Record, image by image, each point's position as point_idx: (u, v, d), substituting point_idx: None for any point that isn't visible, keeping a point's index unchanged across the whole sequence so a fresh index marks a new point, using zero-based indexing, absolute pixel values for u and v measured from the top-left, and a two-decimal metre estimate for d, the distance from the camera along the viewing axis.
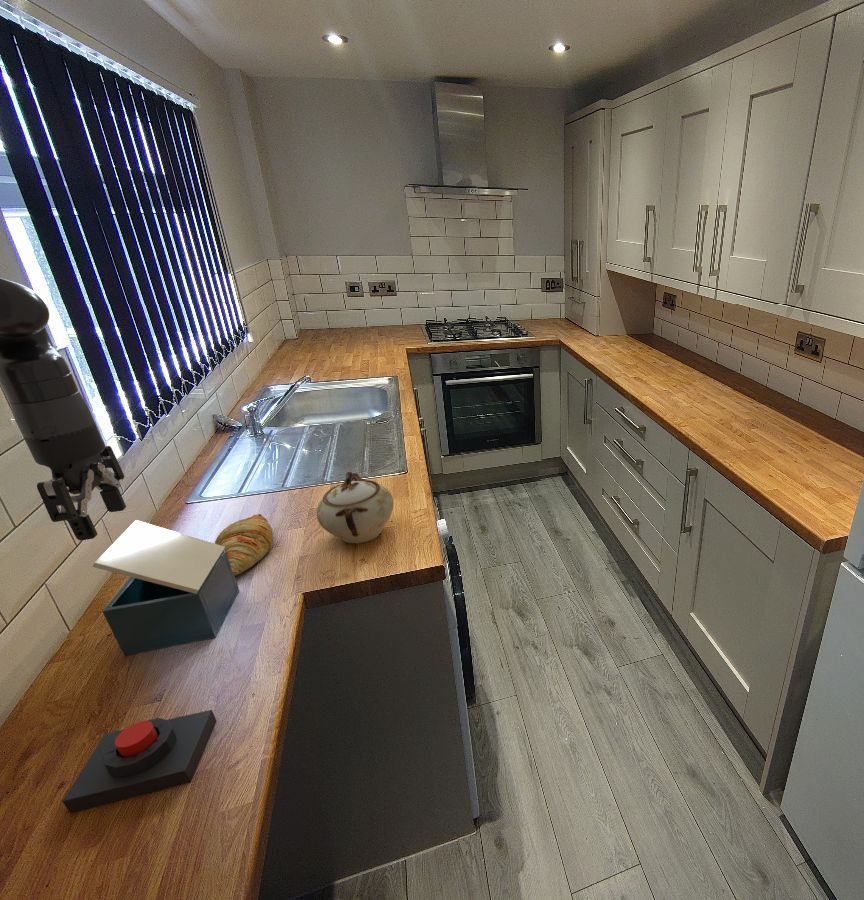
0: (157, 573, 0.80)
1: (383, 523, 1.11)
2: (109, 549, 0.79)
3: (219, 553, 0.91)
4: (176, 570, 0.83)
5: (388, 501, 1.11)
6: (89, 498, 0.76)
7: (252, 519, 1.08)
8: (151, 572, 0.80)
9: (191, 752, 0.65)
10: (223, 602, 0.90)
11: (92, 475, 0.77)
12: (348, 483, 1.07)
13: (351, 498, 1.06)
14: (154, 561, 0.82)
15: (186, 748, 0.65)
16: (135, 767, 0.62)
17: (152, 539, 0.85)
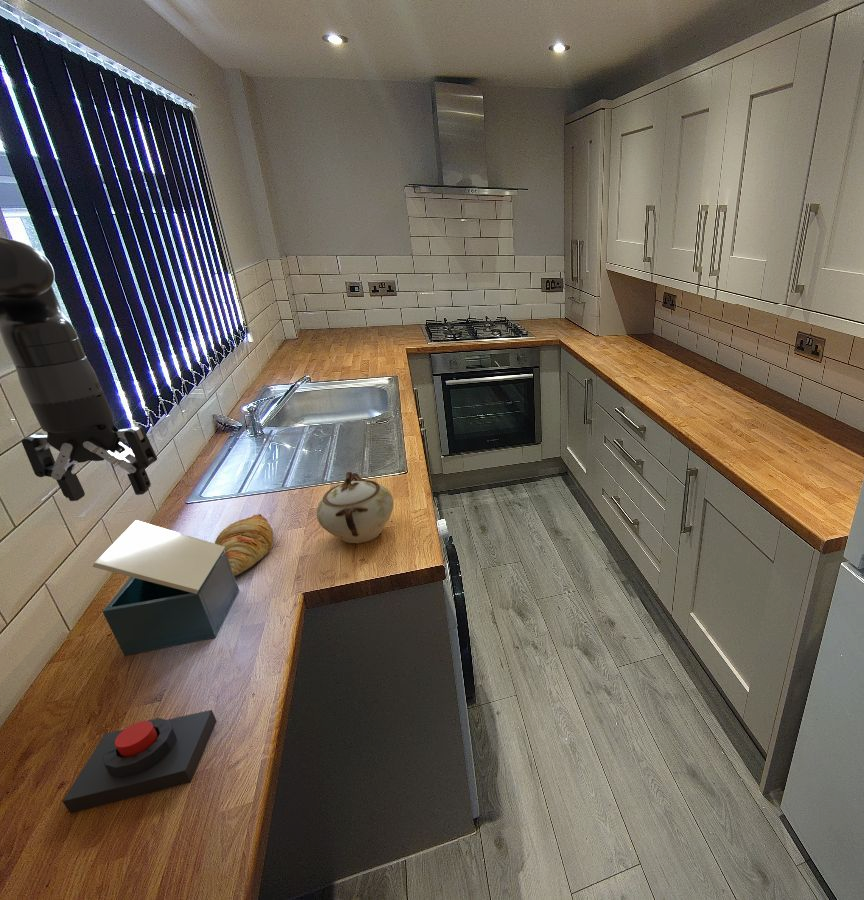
0: (157, 573, 0.80)
1: (383, 523, 1.11)
2: (109, 549, 0.79)
3: (219, 553, 0.91)
4: (176, 570, 0.83)
5: (388, 501, 1.11)
6: None
7: (252, 519, 1.08)
8: (151, 572, 0.80)
9: (191, 752, 0.65)
10: (223, 602, 0.90)
11: None
12: (348, 483, 1.07)
13: (351, 498, 1.06)
14: (154, 561, 0.82)
15: (186, 748, 0.65)
16: (135, 767, 0.62)
17: (152, 539, 0.85)
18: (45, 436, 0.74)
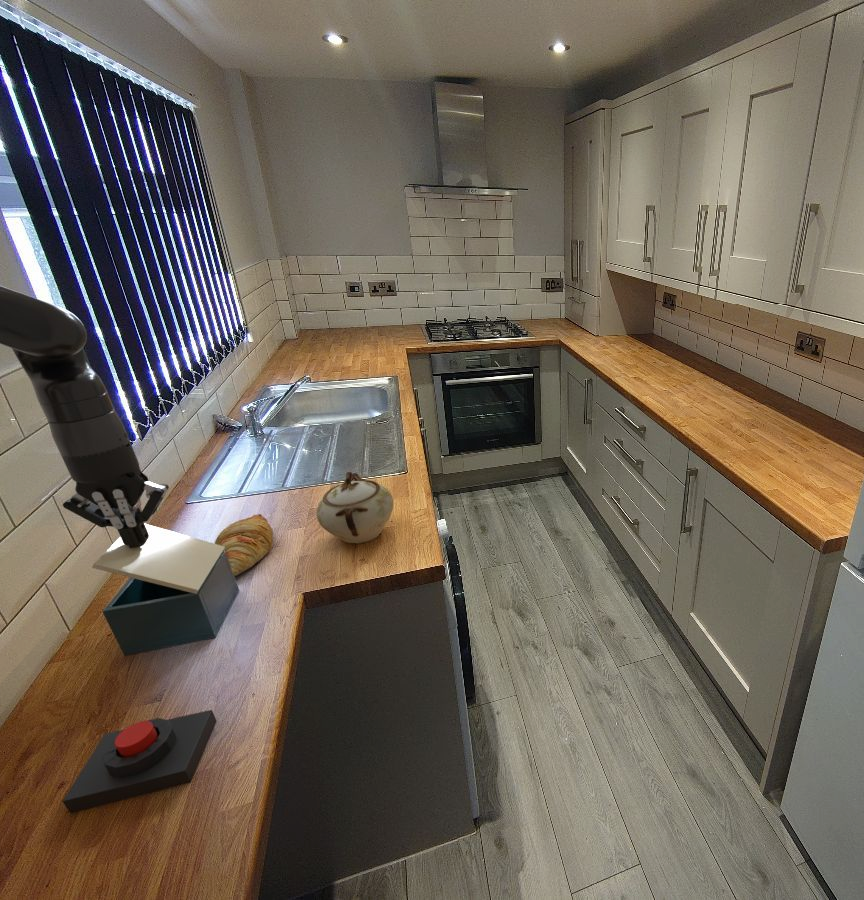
0: (157, 573, 0.80)
1: (383, 523, 1.11)
2: (108, 550, 0.79)
3: (219, 553, 0.91)
4: (176, 570, 0.83)
5: (388, 501, 1.11)
6: None
7: (252, 519, 1.08)
8: (151, 573, 0.80)
9: (191, 752, 0.65)
10: (223, 602, 0.90)
11: None
12: (348, 483, 1.07)
13: (351, 498, 1.06)
14: (154, 562, 0.82)
15: (186, 748, 0.65)
16: (135, 767, 0.62)
17: (152, 540, 0.85)
18: (76, 493, 0.77)
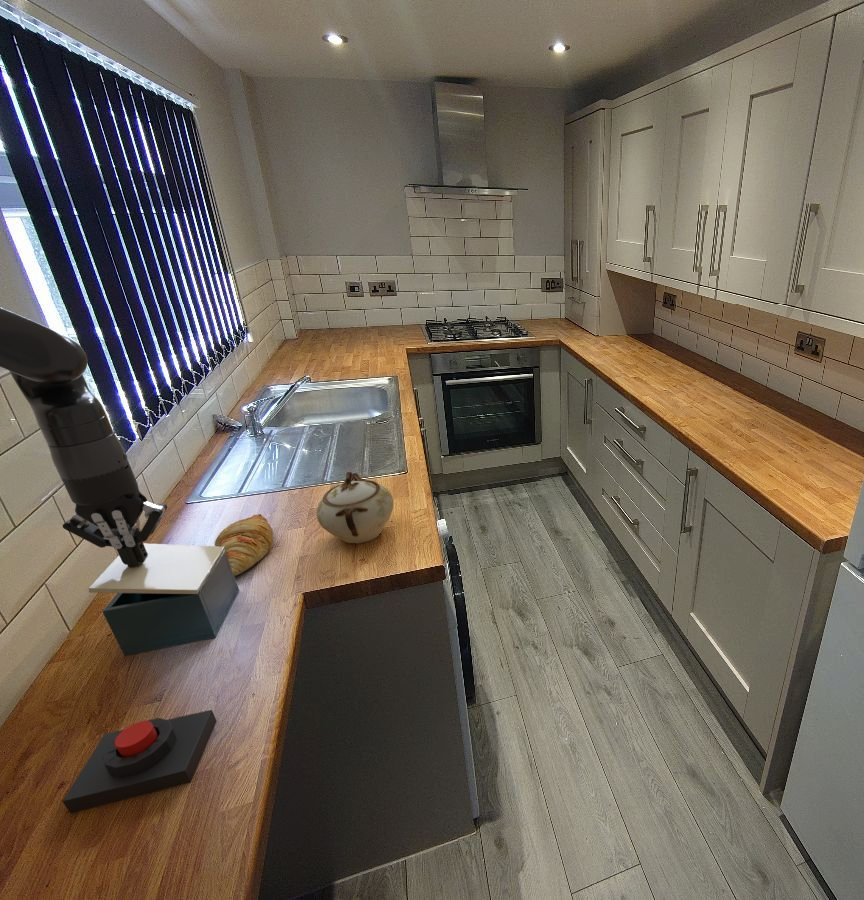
0: (153, 584, 0.81)
1: (383, 523, 1.11)
2: (103, 573, 0.80)
3: (218, 553, 0.91)
4: (173, 577, 0.83)
5: (388, 501, 1.11)
6: None
7: (252, 519, 1.08)
8: (147, 584, 0.80)
9: (191, 752, 0.65)
10: (223, 602, 0.90)
11: None
12: (348, 483, 1.07)
13: (351, 498, 1.06)
14: (150, 574, 0.83)
15: (186, 748, 0.65)
16: (135, 767, 0.62)
17: None
18: None
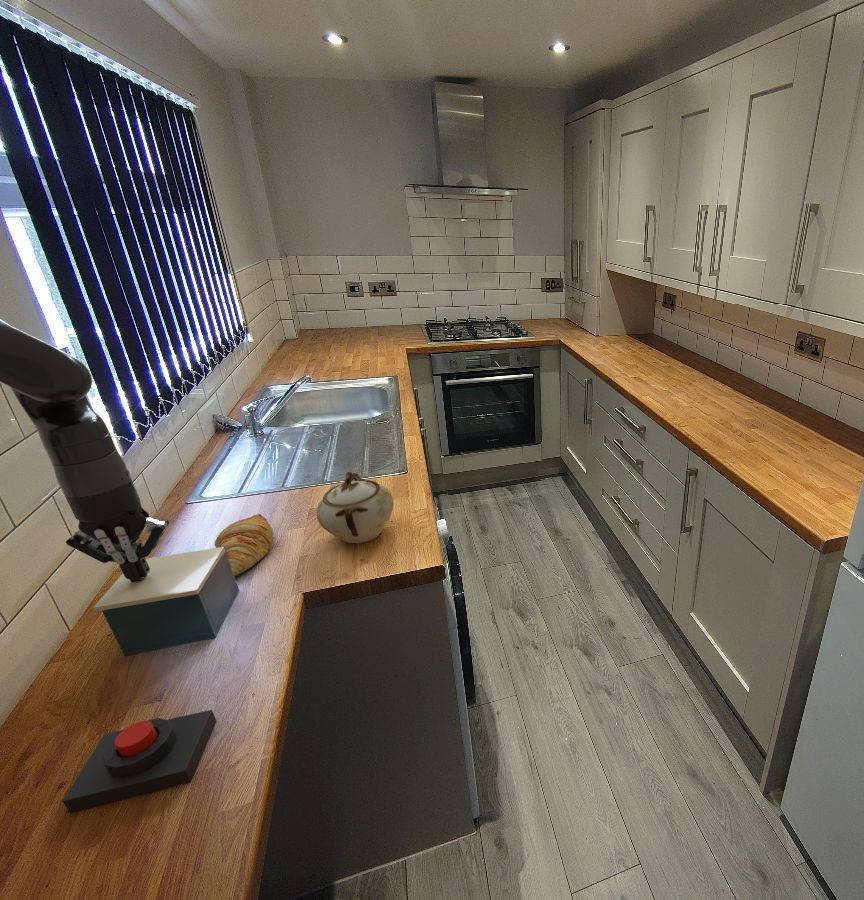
0: (155, 592, 0.81)
1: (383, 523, 1.11)
2: (107, 592, 0.82)
3: (217, 554, 0.91)
4: (174, 582, 0.84)
5: (388, 501, 1.11)
6: None
7: (252, 519, 1.08)
8: (149, 594, 0.81)
9: (191, 752, 0.65)
10: (223, 602, 0.90)
11: None
12: (348, 483, 1.07)
13: (351, 498, 1.06)
14: (152, 584, 0.83)
15: (186, 748, 0.65)
16: (135, 767, 0.62)
17: (150, 568, 0.87)
18: None
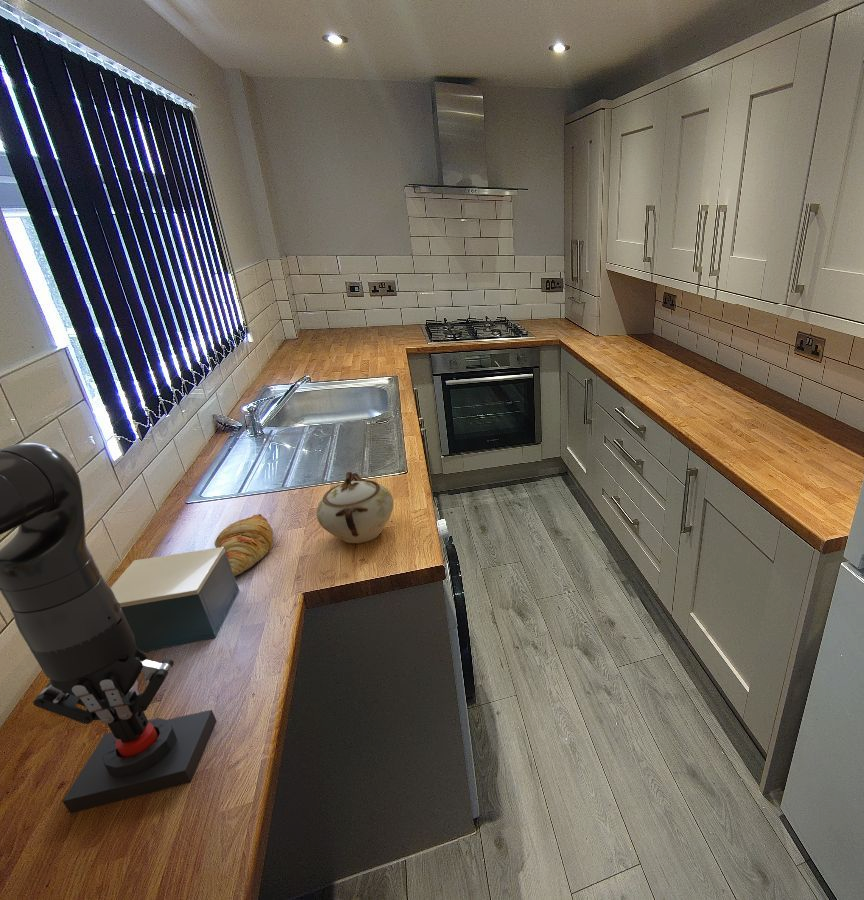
0: (155, 592, 0.81)
1: (383, 523, 1.11)
2: None
3: (217, 554, 0.91)
4: (174, 582, 0.84)
5: (388, 501, 1.11)
6: None
7: (252, 519, 1.08)
8: (149, 594, 0.81)
9: (191, 752, 0.65)
10: (223, 602, 0.90)
11: None
12: (348, 483, 1.07)
13: (351, 498, 1.06)
14: (152, 584, 0.83)
15: (186, 748, 0.65)
16: (135, 767, 0.62)
17: (150, 568, 0.87)
18: None
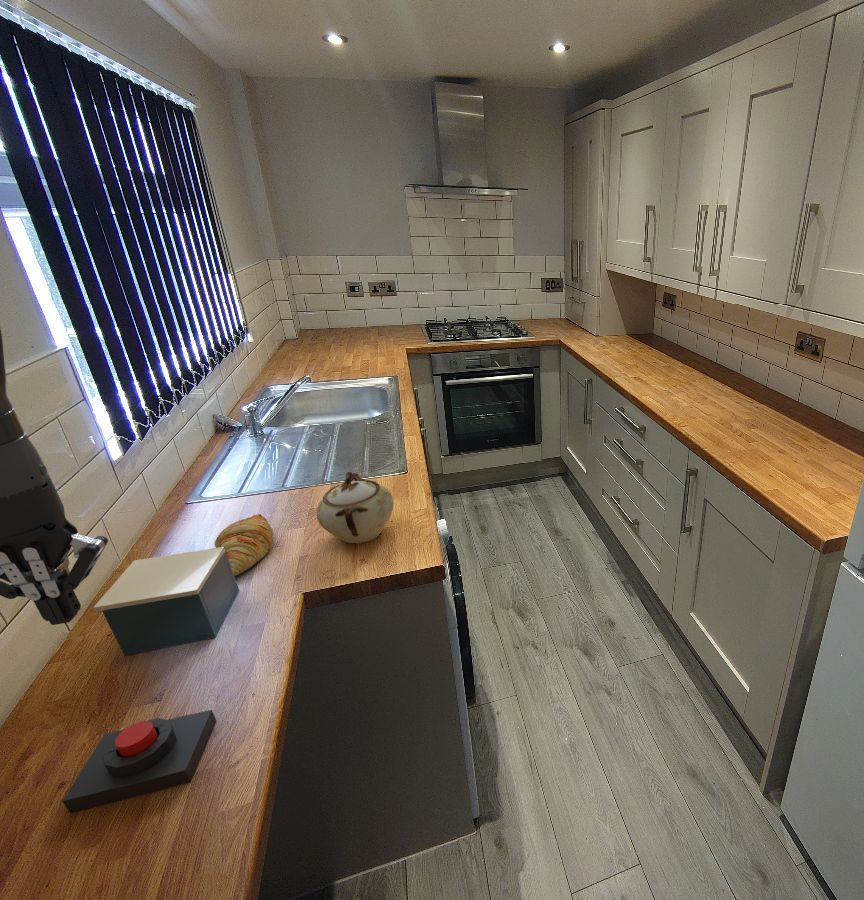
0: (155, 592, 0.81)
1: (383, 523, 1.11)
2: (107, 592, 0.82)
3: (217, 554, 0.91)
4: (174, 582, 0.84)
5: (388, 501, 1.11)
6: None
7: (252, 519, 1.08)
8: (149, 594, 0.81)
9: (191, 752, 0.65)
10: (223, 602, 0.90)
11: None
12: (348, 483, 1.07)
13: (351, 498, 1.06)
14: (152, 584, 0.83)
15: (186, 748, 0.65)
16: (135, 767, 0.62)
17: (150, 568, 0.87)
18: None
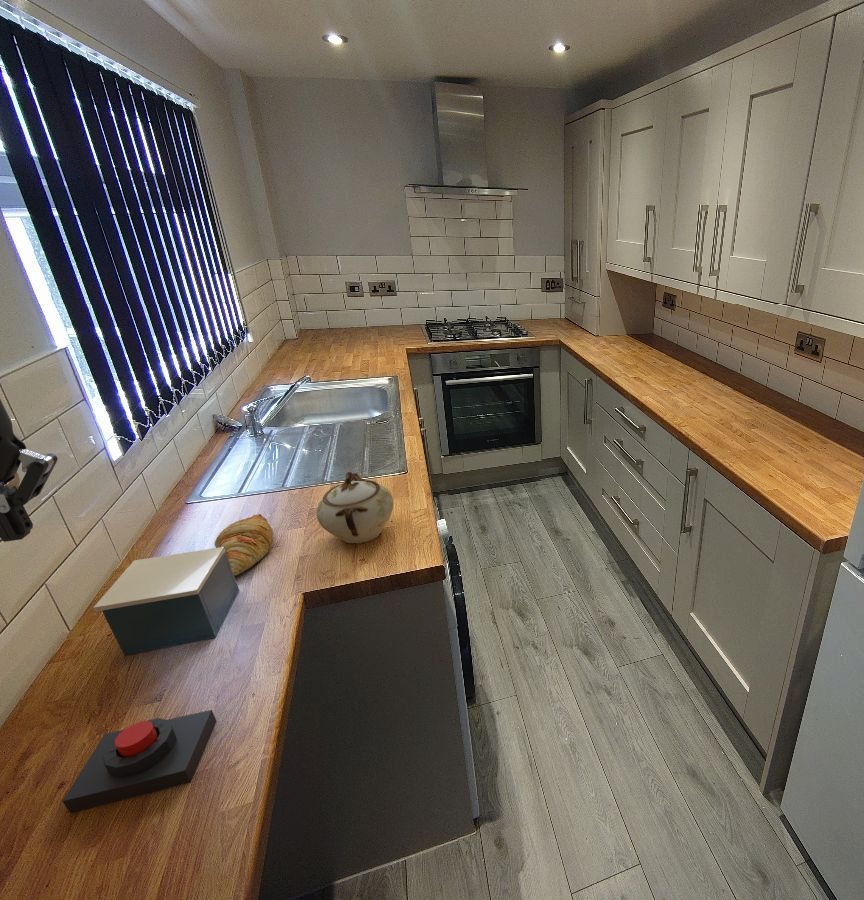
0: (155, 592, 0.81)
1: (383, 523, 1.11)
2: (107, 592, 0.82)
3: (217, 554, 0.91)
4: (174, 582, 0.84)
5: (388, 501, 1.11)
6: None
7: (252, 519, 1.08)
8: (149, 594, 0.81)
9: (191, 752, 0.65)
10: (223, 602, 0.90)
11: None
12: (348, 483, 1.07)
13: (351, 498, 1.06)
14: (152, 584, 0.83)
15: (186, 748, 0.65)
16: (135, 767, 0.62)
17: (150, 568, 0.87)
18: None
